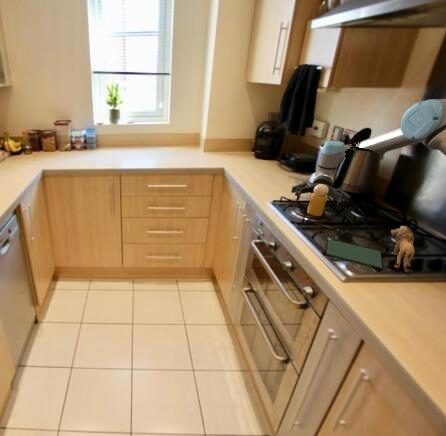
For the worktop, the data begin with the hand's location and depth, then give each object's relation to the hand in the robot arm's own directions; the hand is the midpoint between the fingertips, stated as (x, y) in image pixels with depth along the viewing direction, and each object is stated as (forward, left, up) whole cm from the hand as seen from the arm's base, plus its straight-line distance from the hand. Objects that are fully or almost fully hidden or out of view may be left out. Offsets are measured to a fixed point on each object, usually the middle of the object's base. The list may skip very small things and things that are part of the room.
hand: (317, 201), depth 120 cm
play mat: (-13, +23, -6) cm, 27 cm away
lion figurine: (-24, +19, -6) cm, 32 cm away
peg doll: (0, -2, -6) cm, 6 cm away
